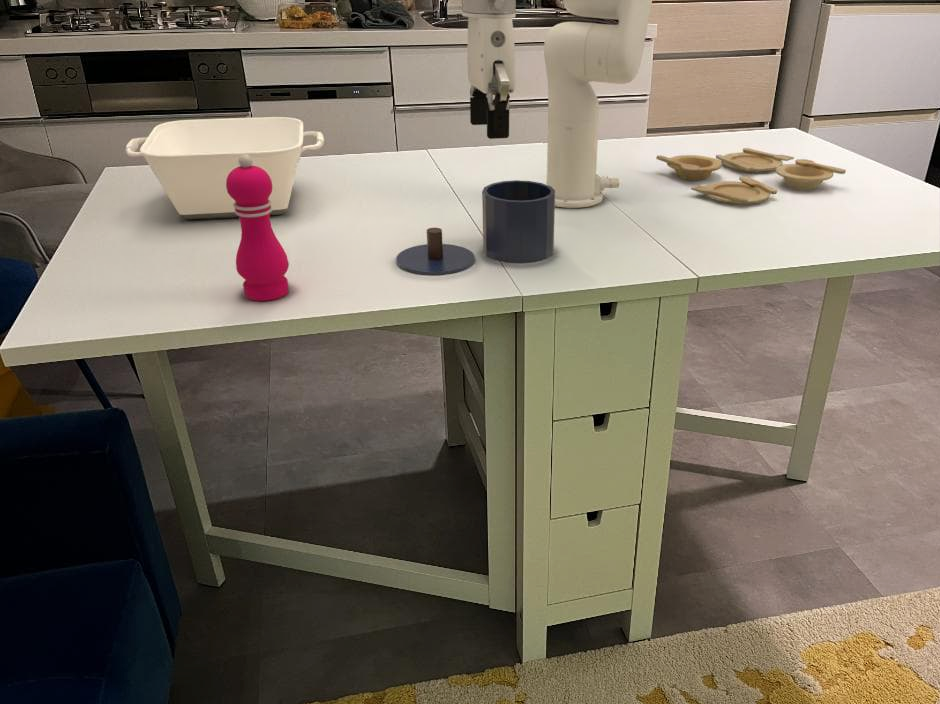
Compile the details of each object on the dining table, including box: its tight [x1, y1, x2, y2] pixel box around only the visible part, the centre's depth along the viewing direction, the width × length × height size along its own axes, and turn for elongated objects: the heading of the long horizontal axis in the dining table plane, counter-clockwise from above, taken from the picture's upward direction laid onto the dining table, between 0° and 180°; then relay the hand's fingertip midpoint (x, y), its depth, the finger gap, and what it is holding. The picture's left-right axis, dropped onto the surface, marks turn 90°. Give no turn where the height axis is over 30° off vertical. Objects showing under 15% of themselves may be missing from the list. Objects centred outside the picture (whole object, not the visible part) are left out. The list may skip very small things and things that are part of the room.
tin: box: [481, 179, 556, 265], centre depth 135 cm, size 11×11×10 cm
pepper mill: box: [226, 155, 290, 302], centre depth 117 cm, size 7×7×20 cm
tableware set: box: [655, 147, 847, 205], centre depth 175 cm, size 35×29×4 cm
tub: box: [125, 116, 325, 220], centre depth 153 cm, size 34×27×13 cm
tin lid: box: [395, 227, 476, 276], centre depth 131 cm, size 12×12×6 cm
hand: (489, 130), depth 125 cm, fingers open, 9 cm apart
